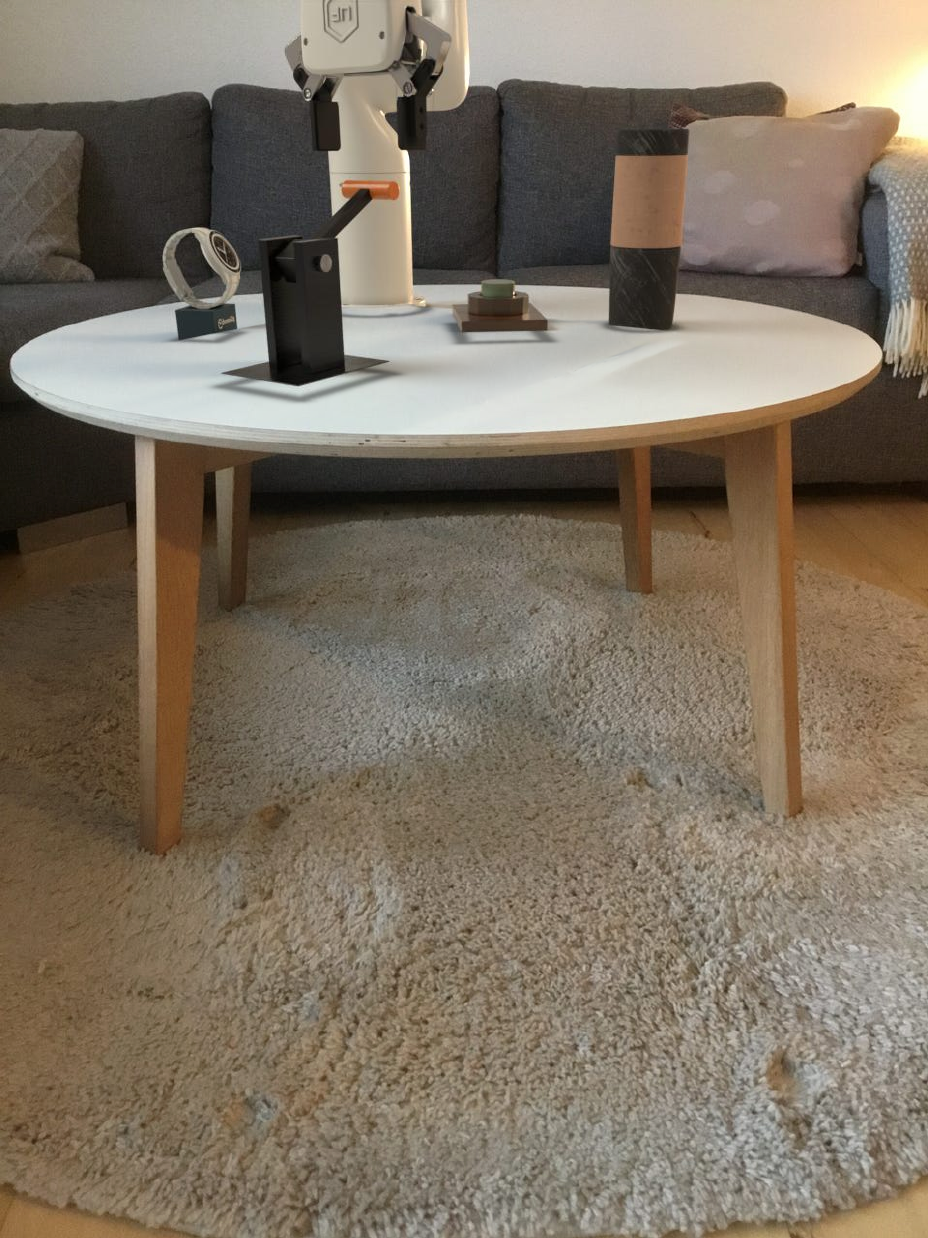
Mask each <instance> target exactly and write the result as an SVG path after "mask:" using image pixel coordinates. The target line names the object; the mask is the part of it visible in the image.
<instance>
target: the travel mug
mask: <svg viewBox="0 0 928 1238" xmlns="http://www.w3.org/2000/svg"><path fill="white" fill-rule="evenodd" d="M689 144H690V129H689V128H636V129H633V128H631V129H629V128H628V129H627V128H625V129H617V132H616V145H615V160H614V175H613V176H614V178H613V193H612V194H613V195H612V210H611V228H610V243H609V244H610V247H609V280H608V281H609V282H608V283H609V284H608V286H609V287H608V326H613V327H626V328H635V329H645V330H654V331H666V330H669V329H672V327H673V323H674V316H675V315H674V314H675V308H676V299H677V298H676V297H677V290H678V289H677V288H678V279H679V271H680V260H681V252H682V242H683V229H684V228H683V226H684V213H685V200H686V186H687V173H688V172H687V171H688V159H689V155H688V154H689Z"/></svg>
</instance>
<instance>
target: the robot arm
mask: <svg viewBox="0 0 928 1238" xmlns="http://www.w3.org/2000/svg"><path fill="white" fill-rule="evenodd" d="M467 10H468V8H467V0H300V32H299V33H298V34H297V35H296V36H295V37H293V38H292V40H291V41H289V42H288V44H286V46H285V47H284V55H285V57H286V60H287V63H288V65H289V67H290V70H291V72H292V78H293V80H294V82H295V84H296V85H297V86H298V87H299V89H300V90H301V91H302V92H301V93H302V97H303V98H302V99H304V100H305V101H306V102H309V117H310V131H311V132H310V134H311V147H312V150H313V151H314V152H327V153H328V154H327V155H328V171H329V172H328V173H329V184H330V201H331V217H332V216H333V215H334V214H335V213H336V212H337V211H338V210H339V209H340V208H341V207H342V206H343V205H344V204H345V203H346V202H347V201H348V200H349V199H346V198H345V197H344V196H343V194H342V190H341V188H342V184H343V182H344V181H346V180H365V181H395V182H397V184H398V185H399V190H400V192H399V196H398V198H397V199H396V200H372V201H371V202H370V203H369V204H368V205H367V206H366V207H365V208H364V209H363V210H362V211H361V212H360V213H359V214H358V215H357V216H356V217H355V218H354V219H353V220H352V221H351V222H350V223H349V224H348V225H347V226H346V227H345V228H344V229H343V230H342V231H341V232H340V233H339V234H338V235H337V236H336V237H335V238H338V251H339V269H340V287H341V304H342V309H345V308H346V309H347V308H393V307H403V306H414V307H415V306H416V307H427V305H426V303H427V302H426V301H427V300H426V297H424V296H422V295H419V294H415V293H414V282H413V243H412V242H413V241H412V206H411V205H412V203H411V201H412V200H411V171H410V168H411V167H410V157H409V152H408V151H425V150H426V149H427V137H428V112H443V111H444V112H445V111H450V110H454V109H456V108H458V107H459V106H460V105H462V103H463V102H464V100H465V99H466V96H467V94H468V90H469V85H470V84H469V83H470V49H469V48H470V47H469V27H468V26H469V25H468V11H467ZM389 113H396V125H397V132H396V130H395V129H394V128H393V127H392V126H391V124H390V123H389V122H388V121H387V119H386V117H385V116H386V114H389Z"/></svg>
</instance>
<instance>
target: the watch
mask: <svg viewBox="0 0 928 1238" xmlns="http://www.w3.org/2000/svg"><path fill="white" fill-rule="evenodd" d="M190 233H192V234H194V237H195V238H196V239H197V241H199V243H200V249H201V251H202V255H203V256H204V258H205V260H206V261H207V263H208V265H209V266H210V267H211V269H212V270H213V271H214V272H215V273H216V274H217V275H219V276H220V278H221V280H222V283H223V284H224V285H225V290H224V291H223V294H222V296H221V297H220V298H219V299H218V300H217V301H216V302H206V301H203V300H200V299H198V298H196V296H194V291H193V289H191V287H190V286H189V284H188V283H187V281H186V279H185V277H184V275H183V274H182V273H183V272H182V270H181V269H180V266H179V265H178V263H177V259H176V258H175V253H176V248H177V246H178V244H179V242H181V240H182V239H183V238H184V237H185V236H186V235H188V234H190ZM162 265H163V267H162V271H163V273H164V275H165V277H166V280H167V282H168V284H169V286H170V287H171V289H172V291H173V292H174V294H175V295H176V296H177V298H178V299H179V301H181V302H183V303H186V304H187V305H186V306H184V307H180V308H177V309H175V310H174V313H175V320H176V321H175V323H176V331H177V338H178V341H183V340H187V339H188V340H189V339H195V338H198V337H203V336H208V335H214V334H219V333H224V332H229V331H234V330H235V331H236V330H238V323H237V311H236V303H229V301H230V300H231V299H232V298H233V296H234V295H235V293H236V292H237V290H238V287H239V284H240V280H241V276H240V275H241V274H240V273H241V271H242V264H241V260H240V258H239V255H238V252H237V251H236V249H235V248H234V246H233V245H232V243H231V242H230V241H229V240H228V239H227V237H225V235H223V234H222V233H221V232H219V231H217V230H215V229H214V230H213V229H209V228H207V227H192V228H186V229H185V228H184V229H181V230H179V231H177V232H175V233H173V234H172V235H171V236H170V237H169V238H168V240H167V241H166V243H165V246H164V247H163V252H162ZM227 302H228V303H227Z"/></svg>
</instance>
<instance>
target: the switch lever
mask: <svg viewBox="0 0 928 1238" xmlns="http://www.w3.org/2000/svg"><path fill="white" fill-rule="evenodd" d="M341 190H342V194H343V196H344V197H345V198H346V199H349V200H348V201H347V202H346V203H345V204H344V205H343V206H342V207H341V208H340V209H339V210H338V211H337V212H336V213H335V214H334V215H333V216H332V215H331V217H330V218H329V219H328V220H327V221H326V222H325V223H324V224H323V225H322V226H321V227H320V228H319V229H318V230H317V231H316V232H315V233H314V234H313V235H312V236H311V237H310V238H309V239H308V240H312V239H321V238H335V237H336V236H337V235H338V234H339V233H340V232H341V231H342V230H343V229H344V228H345V227H346V226H347V225H348V224H349V223H350V222H351V221H352V220H353V219H354V218H355V217H356V216H357V215H358V214H359V213H360V212H361V211H362V210H363V209H364V208H365V207H366V206H367V205H368V204H369V203H370V202H371V201H372V200H396V199H397V198H398V196H399V192H400V190H399V185H398V184H397V182H395V181H365V180H346V181H344V182H343V184H342V188H341ZM303 240H304V239H303ZM303 240H302V239H294V240H293V241H292V242H291V243H290V244H289V245H288V246H287V247H286V248H285V249H284V250H283V251H282V252H281V253H280V254H278V255H277V256H276V260H277V262H278V265H279V267H280V269H281V271H282V273H283V276H284V278H285V280H286V282H291V283H296V273H295V260H294V246H293V242H295V241H303Z"/></svg>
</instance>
